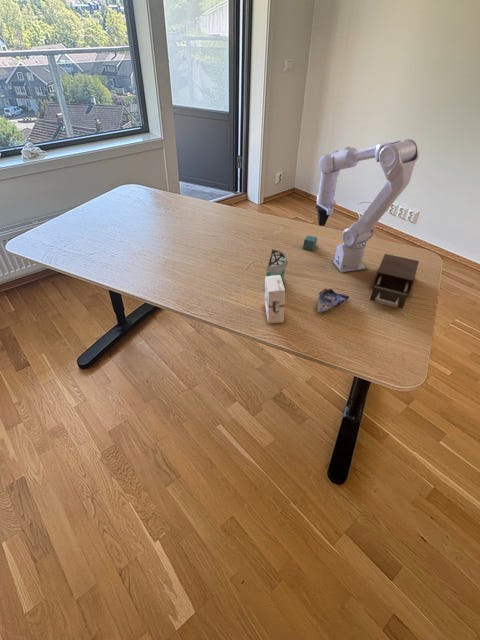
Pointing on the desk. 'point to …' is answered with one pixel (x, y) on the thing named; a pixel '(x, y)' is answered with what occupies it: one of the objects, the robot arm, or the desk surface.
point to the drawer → (390, 291)
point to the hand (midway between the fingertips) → (321, 225)
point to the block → (310, 243)
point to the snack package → (329, 300)
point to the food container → (277, 263)
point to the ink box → (274, 299)
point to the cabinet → (398, 269)
